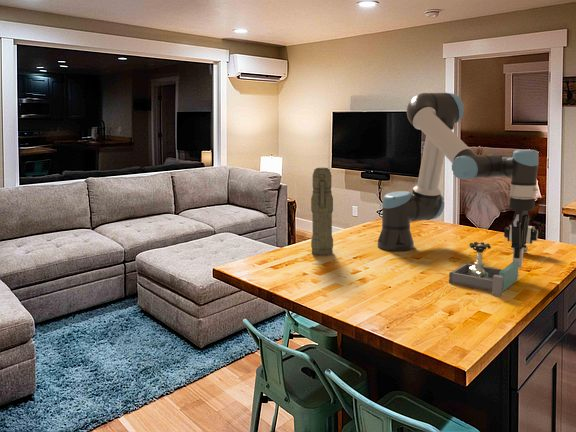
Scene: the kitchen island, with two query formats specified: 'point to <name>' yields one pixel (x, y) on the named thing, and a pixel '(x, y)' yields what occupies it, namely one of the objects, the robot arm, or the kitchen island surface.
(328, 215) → the grey carved statue
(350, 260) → the kitchen island surface
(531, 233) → the pneumatic valve
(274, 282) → the kitchen island surface
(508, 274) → the gate
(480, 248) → the valve
